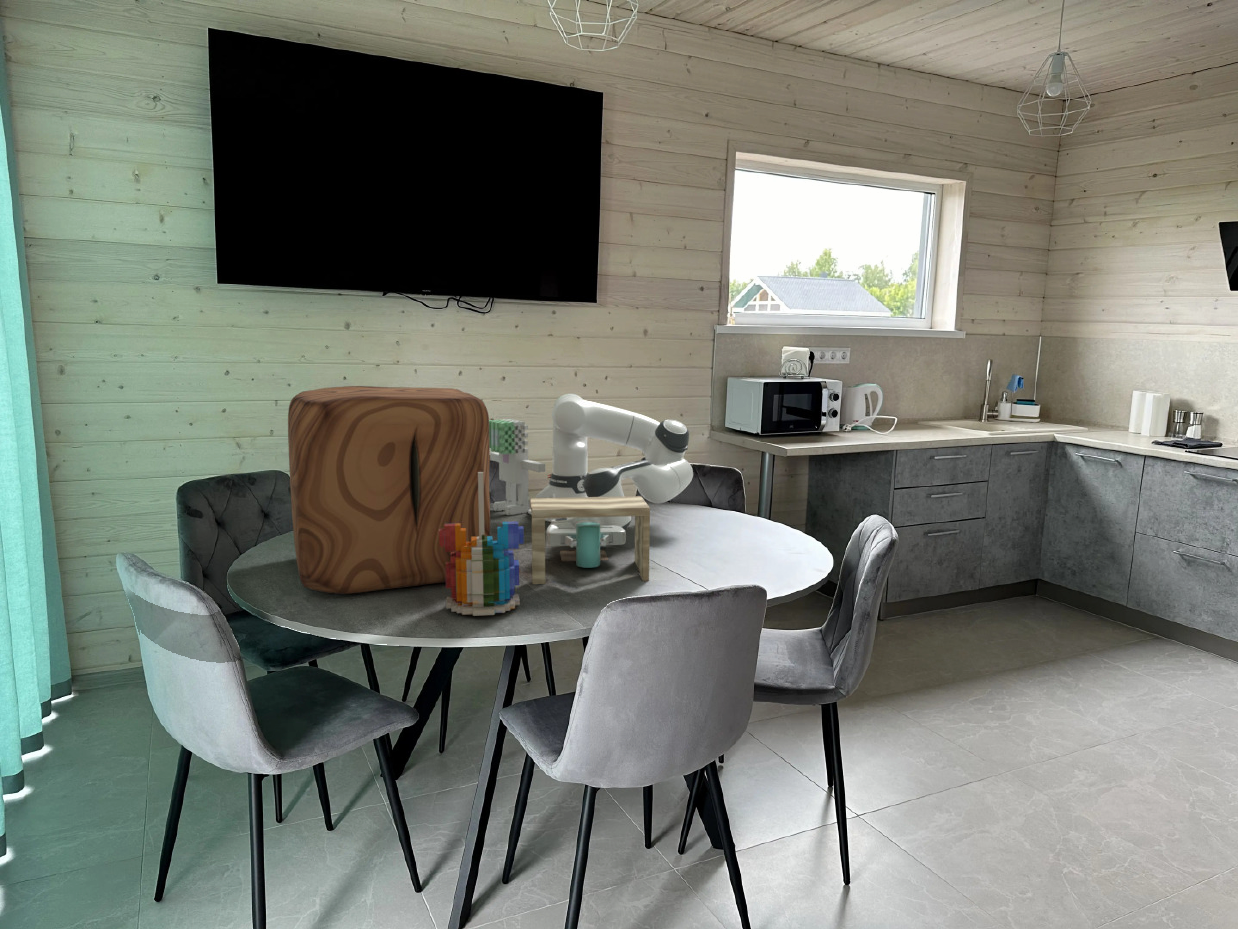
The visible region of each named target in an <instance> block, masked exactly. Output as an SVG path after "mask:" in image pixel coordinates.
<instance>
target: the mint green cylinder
mask: <svg viewBox="0 0 1238 929" xmlns="http://www.w3.org/2000/svg"><path fill="white" fill-rule="evenodd" d="M576 540H577V547H575V551H576V561H575V562H576V563H575V564H576V566H577V567H579V568H587V569H588V568H597V567H599V566H601V560H600V550H601V546H600V524H598V523H579V524H577V525H576Z"/></svg>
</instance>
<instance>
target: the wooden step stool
mask: <svg viewBox="0 0 1238 929" xmlns="http://www.w3.org/2000/svg"><path fill="white" fill-rule="evenodd" d="M529 501H530V509H531V514H532V515H531V514H530V515H531V575H532V576H531V578H532V579H531V582H532V583H531V584H532V585H545V584H546V521H545V518H572V517H620V516H631V517H634V563H635V565H636V567H637V569H638V571H637V573H638V572H639V573H638V574H640V575H639V576H640V578H641V580H642V581H643V582H646V581H647V582H648V581H650V538H651V536H650V534H651V532H650V531H651V530H650V528H651V527H650V526H651V525H650V524H651V521H650V520H651V517H650V516H651V508H650V505H648V504H647V502H646V501H645V498H644V497H643V496H642V495H639V496H625V497H572V498H536V497H531V498H530V499H529Z"/></svg>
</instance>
